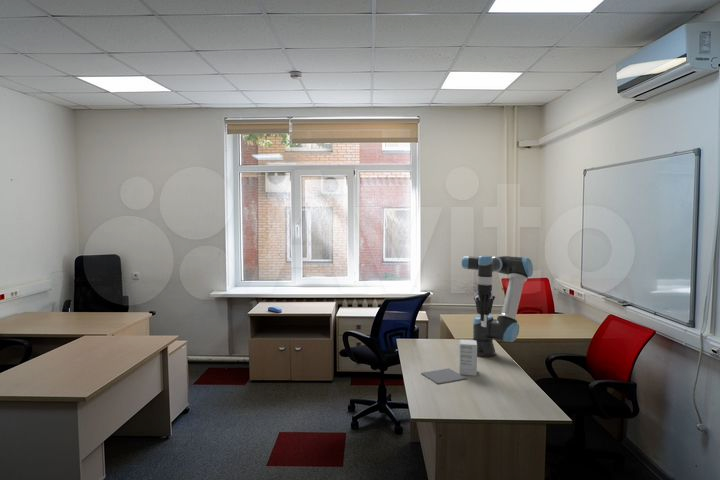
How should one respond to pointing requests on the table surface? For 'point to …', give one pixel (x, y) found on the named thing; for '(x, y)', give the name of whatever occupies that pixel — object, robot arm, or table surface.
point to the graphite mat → (443, 376)
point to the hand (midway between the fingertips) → (483, 326)
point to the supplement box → (468, 357)
